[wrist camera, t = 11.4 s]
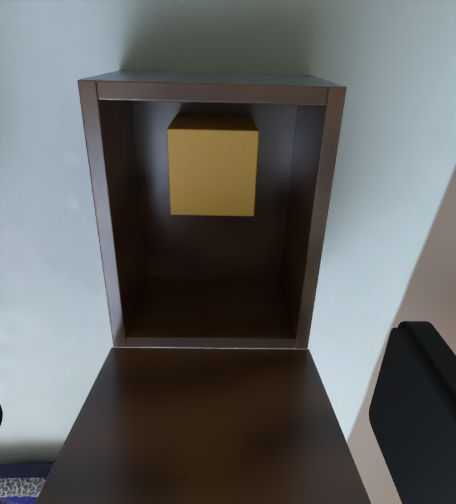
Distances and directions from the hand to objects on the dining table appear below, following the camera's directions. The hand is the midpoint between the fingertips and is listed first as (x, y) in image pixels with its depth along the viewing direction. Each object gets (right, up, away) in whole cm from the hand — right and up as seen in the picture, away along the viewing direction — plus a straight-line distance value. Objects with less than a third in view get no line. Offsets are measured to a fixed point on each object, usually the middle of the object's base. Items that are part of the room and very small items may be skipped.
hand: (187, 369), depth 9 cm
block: (0, +10, +20) cm, 22 cm away
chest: (0, +8, +22) cm, 24 cm away
